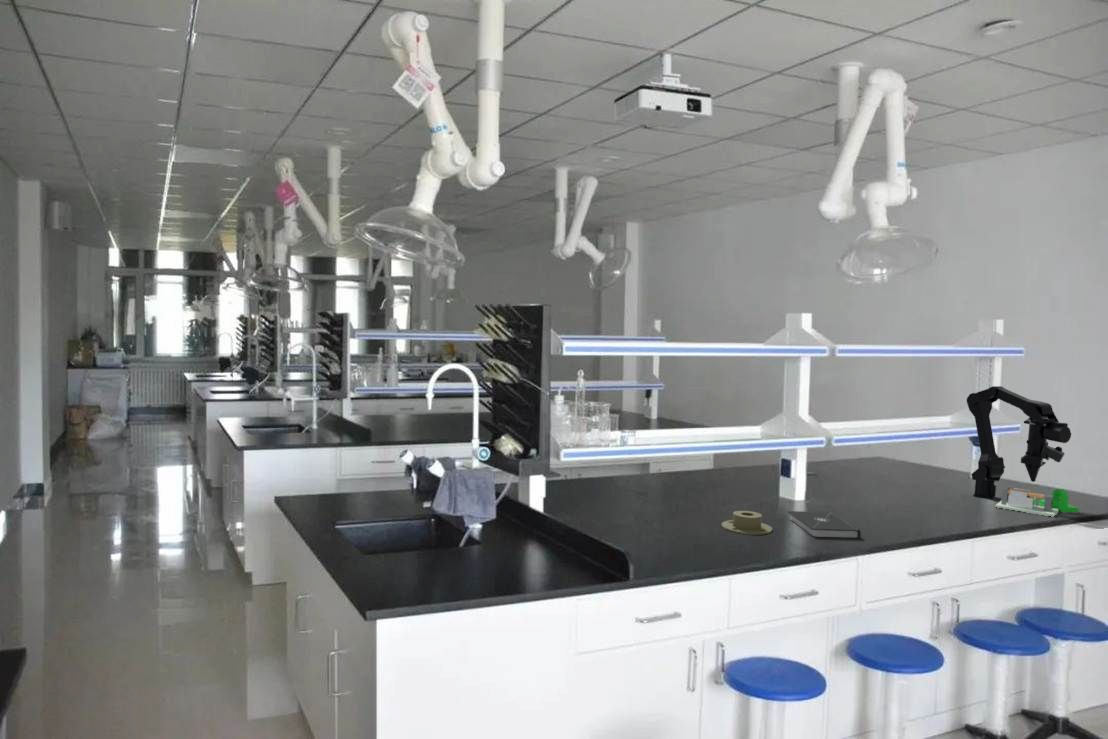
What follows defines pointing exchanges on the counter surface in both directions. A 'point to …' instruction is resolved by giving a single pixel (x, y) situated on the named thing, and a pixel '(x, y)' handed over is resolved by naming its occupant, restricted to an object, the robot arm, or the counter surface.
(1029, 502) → the electronic module
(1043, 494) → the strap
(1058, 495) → the mechanical part
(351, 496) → the counter surface
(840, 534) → the book
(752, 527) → the flange
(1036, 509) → the board
